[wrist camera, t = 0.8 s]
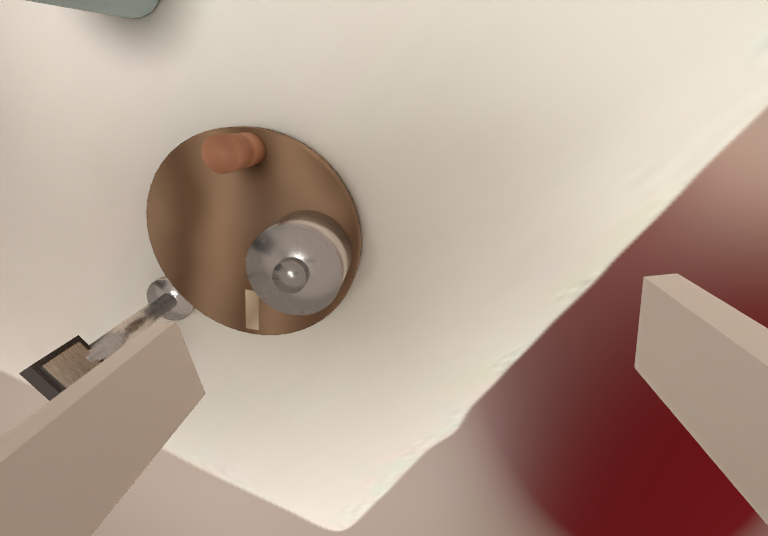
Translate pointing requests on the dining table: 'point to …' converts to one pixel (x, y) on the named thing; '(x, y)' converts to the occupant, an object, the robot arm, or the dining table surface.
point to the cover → (299, 262)
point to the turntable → (239, 219)
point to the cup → (108, 6)
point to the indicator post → (104, 342)
